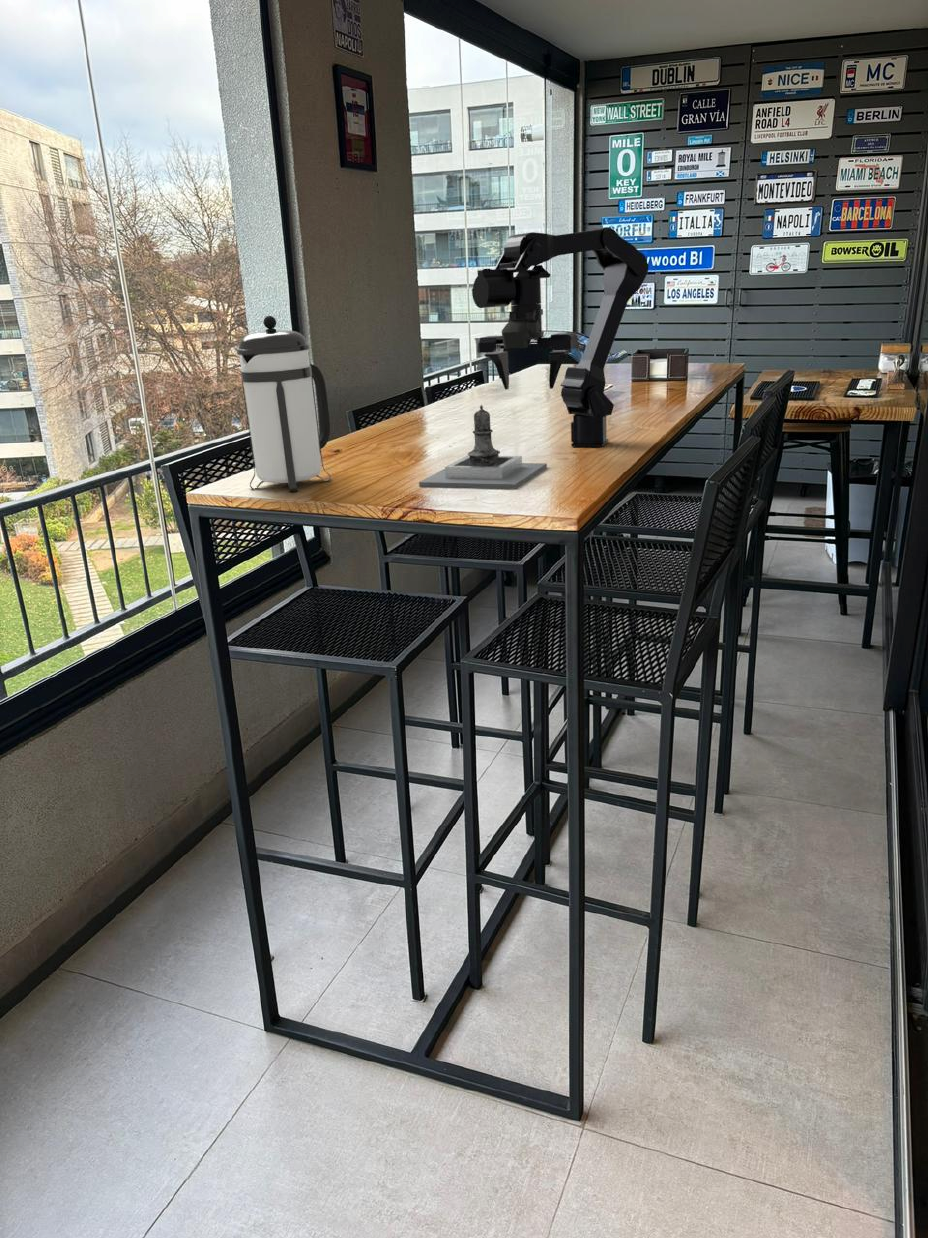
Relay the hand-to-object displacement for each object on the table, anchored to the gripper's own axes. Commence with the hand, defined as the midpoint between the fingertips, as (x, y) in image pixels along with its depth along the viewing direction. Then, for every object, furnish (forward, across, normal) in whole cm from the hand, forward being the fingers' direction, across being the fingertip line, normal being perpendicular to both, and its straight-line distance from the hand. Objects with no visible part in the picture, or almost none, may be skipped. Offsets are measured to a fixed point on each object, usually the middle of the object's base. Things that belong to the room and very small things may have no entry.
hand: (528, 388), depth 177 cm
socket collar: (+13, -2, -21) cm, 25 cm away
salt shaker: (+12, -2, -21) cm, 24 cm away
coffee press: (+13, -37, -30) cm, 49 cm away
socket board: (+13, -2, -21) cm, 25 cm away
